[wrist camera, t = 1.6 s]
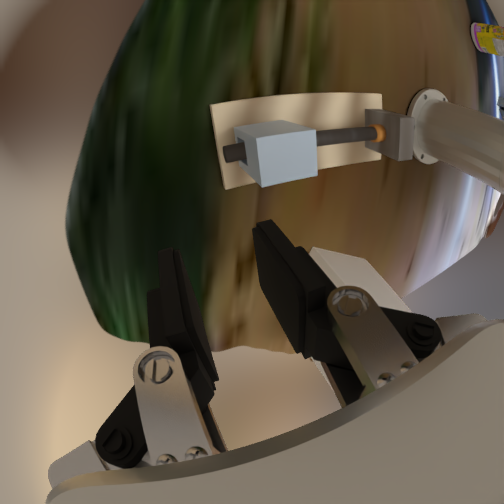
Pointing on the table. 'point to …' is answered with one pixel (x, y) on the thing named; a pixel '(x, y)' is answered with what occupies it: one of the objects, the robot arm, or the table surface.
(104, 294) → the table surface
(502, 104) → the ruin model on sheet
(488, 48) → the supplement bottle
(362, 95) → the board
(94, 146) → the table surface
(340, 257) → the milk
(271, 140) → the sleeve
